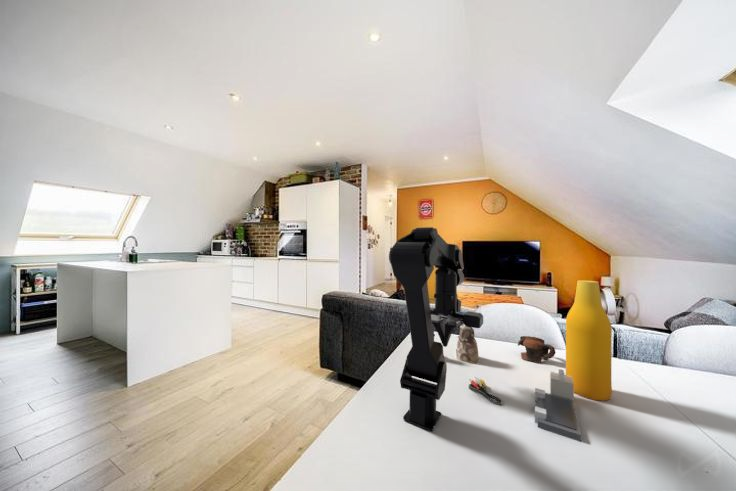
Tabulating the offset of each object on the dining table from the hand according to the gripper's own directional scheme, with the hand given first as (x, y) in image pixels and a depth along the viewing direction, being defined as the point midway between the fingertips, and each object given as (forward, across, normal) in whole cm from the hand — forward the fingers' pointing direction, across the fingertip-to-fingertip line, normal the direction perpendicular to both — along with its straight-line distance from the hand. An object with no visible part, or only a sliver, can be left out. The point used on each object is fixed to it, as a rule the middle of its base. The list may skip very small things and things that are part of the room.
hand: (445, 346), depth 71 cm
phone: (+10, -25, 0) cm, 27 cm away
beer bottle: (+10, -32, -17) cm, 38 cm away
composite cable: (+10, -10, 0) cm, 14 cm away
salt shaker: (+10, +10, -14) cm, 20 cm away
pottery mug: (+10, -21, -34) cm, 41 cm away
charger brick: (+10, -26, -10) cm, 30 cm away
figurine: (+10, -2, -20) cm, 23 cm away
